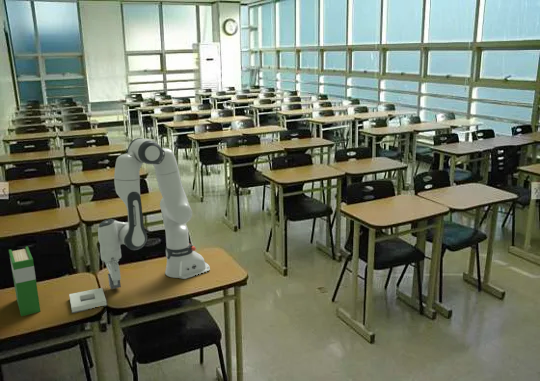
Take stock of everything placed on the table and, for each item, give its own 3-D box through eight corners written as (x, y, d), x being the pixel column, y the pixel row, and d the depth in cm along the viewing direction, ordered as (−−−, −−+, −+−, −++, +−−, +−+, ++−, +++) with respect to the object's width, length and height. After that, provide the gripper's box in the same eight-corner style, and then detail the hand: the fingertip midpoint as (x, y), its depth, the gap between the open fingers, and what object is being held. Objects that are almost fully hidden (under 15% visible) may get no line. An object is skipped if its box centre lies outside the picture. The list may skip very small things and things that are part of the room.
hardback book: (16, 299, 210) (8, 249, 204) (34, 295, 214) (27, 246, 208) (21, 316, 196) (12, 263, 190) (40, 311, 200) (32, 259, 194)
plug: (119, 283, 222) (117, 270, 220) (120, 287, 218) (119, 273, 216) (109, 285, 220) (107, 272, 218) (110, 289, 216) (109, 275, 214)
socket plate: (102, 292, 216) (102, 287, 216) (106, 305, 204) (106, 300, 203) (69, 299, 210) (69, 294, 210) (72, 313, 198) (71, 307, 197)
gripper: (122, 261, 207) (125, 289, 211) (114, 246, 225) (117, 272, 228) (107, 264, 204) (111, 292, 208) (100, 248, 222) (104, 275, 226)
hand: (114, 282), depth 218 cm, fingers closed on plug, 4 cm apart
